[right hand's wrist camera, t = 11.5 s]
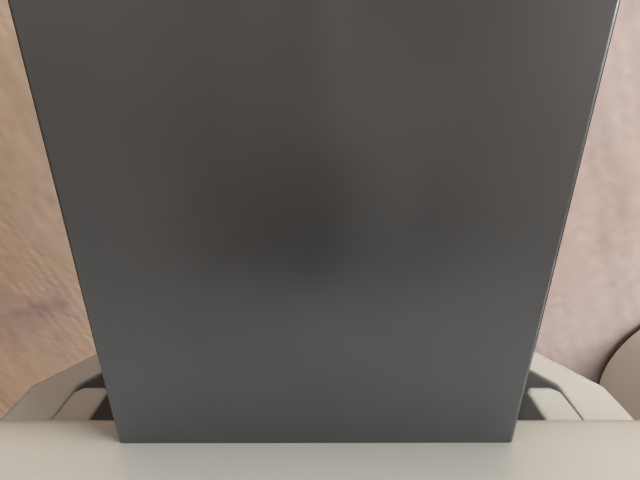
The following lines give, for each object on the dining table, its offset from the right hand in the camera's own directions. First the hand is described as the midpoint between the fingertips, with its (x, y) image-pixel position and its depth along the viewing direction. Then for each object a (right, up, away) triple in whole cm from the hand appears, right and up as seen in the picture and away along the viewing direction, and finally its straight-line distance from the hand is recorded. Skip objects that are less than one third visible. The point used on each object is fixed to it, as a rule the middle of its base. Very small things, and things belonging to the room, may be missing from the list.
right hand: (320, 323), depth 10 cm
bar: (0, +9, +1) cm, 9 cm away
